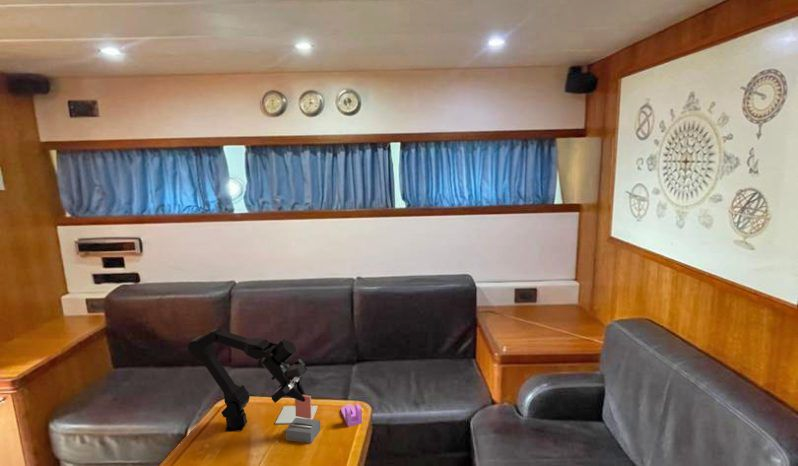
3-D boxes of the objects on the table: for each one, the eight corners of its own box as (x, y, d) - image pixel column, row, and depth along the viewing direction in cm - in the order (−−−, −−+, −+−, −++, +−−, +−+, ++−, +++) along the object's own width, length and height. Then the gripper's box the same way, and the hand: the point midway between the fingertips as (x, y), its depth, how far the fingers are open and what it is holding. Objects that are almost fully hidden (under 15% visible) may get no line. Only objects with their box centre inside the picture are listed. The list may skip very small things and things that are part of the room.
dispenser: (286, 439, 163) (285, 428, 163) (296, 427, 171) (295, 415, 170) (311, 443, 161) (310, 431, 160) (320, 430, 169) (319, 418, 168)
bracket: (362, 423, 172) (361, 406, 171) (348, 427, 170) (347, 410, 169) (353, 406, 184) (352, 391, 183) (339, 410, 182) (338, 394, 181)
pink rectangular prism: (295, 416, 167) (295, 394, 165) (296, 414, 168) (296, 393, 166) (310, 418, 166) (309, 397, 164) (311, 417, 167) (310, 396, 165)
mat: (275, 424, 174) (275, 422, 173) (284, 407, 185) (284, 406, 185) (310, 423, 173) (310, 422, 173) (317, 406, 185) (317, 405, 185)
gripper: (278, 369, 154) (308, 403, 154) (302, 345, 172) (329, 375, 171) (258, 386, 157) (287, 419, 157) (284, 361, 175) (310, 390, 175)
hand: (305, 400), depth 165 cm, fingers closed on pink rectangular prism, 1 cm apart
